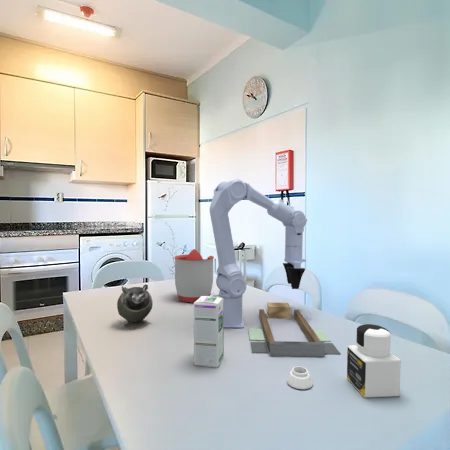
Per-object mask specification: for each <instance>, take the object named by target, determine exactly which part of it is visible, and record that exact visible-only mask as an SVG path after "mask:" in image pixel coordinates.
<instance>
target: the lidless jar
mask: <svg viewBox="0 0 450 450" xmlns="http://www.w3.org/2000/svg"><path fill="white" fill-rule="evenodd" d="M286 383H287V384H288V385H289V386H290V387H292V388H294V389H297V390H308V389H311V388H312V387H313V383H314V382H313V378H312V377H311V375H310V373H309V371H308V369H307V368H306V367H304V366H301V365H300V366H297V365H296V366H293V367H292V369H291V371H290V372H289V374H288V376H287V377H286Z"/></svg>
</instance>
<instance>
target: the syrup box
mask: <svg viewBox="0 0 450 450" xmlns="http://www.w3.org/2000/svg"><path fill="white" fill-rule="evenodd" d="M224 336H225V335H224V327H223V297H217V296H213V295H210V296H201V297H200V298H199V299H198V300H196V301H195V302H194V303H193V358H194V359H193V364H194V365H195V366H199V367H207V368H219V367H220V364H221V363H222V361H223V359H224V353H225V352H224V350H225V349H224V348H225V347H224V338H225V337H224Z"/></svg>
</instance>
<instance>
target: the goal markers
mask: <svg viewBox="0 0 450 450" xmlns="http://www.w3.org/2000/svg"><path fill="white" fill-rule="evenodd" d="M247 331H248V337H249V341H250V342H266V339H265V336H264V332H263V329H262V328H248V330H247ZM313 331H314V332H315V334H316V335H317V336H318V338H319V339H320V341H321V342H323V343H332V342H331V340H330V338H329V337H328V336H327V335H326V333H325V332H324V330H323V329H313Z"/></svg>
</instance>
